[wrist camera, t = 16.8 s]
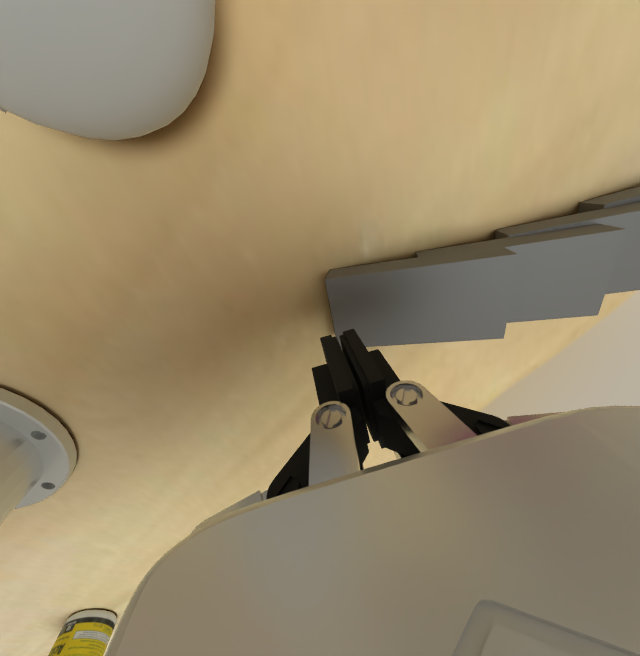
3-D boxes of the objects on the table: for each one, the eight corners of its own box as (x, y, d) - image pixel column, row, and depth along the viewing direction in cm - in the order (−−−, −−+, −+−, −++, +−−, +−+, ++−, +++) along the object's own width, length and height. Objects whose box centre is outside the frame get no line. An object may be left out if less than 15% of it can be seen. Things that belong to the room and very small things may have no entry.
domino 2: (421, 329, 18) (597, 315, 15) (420, 259, 16) (626, 228, 13) (417, 316, 20) (575, 301, 17) (415, 252, 17) (597, 223, 15)
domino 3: (501, 306, 18) (690, 283, 15) (508, 235, 16) (732, 193, 13) (490, 295, 20) (659, 273, 17) (495, 229, 18) (691, 191, 15)
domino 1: (338, 348, 18) (503, 338, 15) (324, 279, 15) (517, 254, 13) (341, 333, 19) (490, 322, 17) (329, 269, 17) (500, 245, 14)
